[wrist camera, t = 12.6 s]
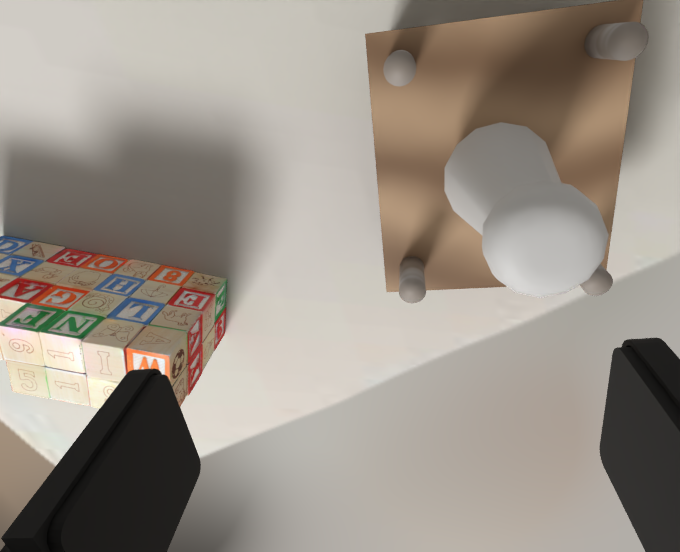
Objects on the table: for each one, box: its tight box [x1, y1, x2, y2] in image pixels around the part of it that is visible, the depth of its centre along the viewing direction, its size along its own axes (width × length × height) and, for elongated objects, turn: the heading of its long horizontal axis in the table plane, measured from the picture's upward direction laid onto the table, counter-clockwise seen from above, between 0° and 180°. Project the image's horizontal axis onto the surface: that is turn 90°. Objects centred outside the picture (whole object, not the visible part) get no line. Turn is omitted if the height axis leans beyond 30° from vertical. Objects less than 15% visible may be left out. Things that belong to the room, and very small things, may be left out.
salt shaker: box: [444, 122, 609, 298], centre depth 22 cm, size 6×6×13 cm
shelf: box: [365, 0, 648, 303], centre depth 30 cm, size 16×14×11 cm
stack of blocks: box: [0, 236, 227, 408], centre depth 39 cm, size 21×6×12 cm, turn 82°
